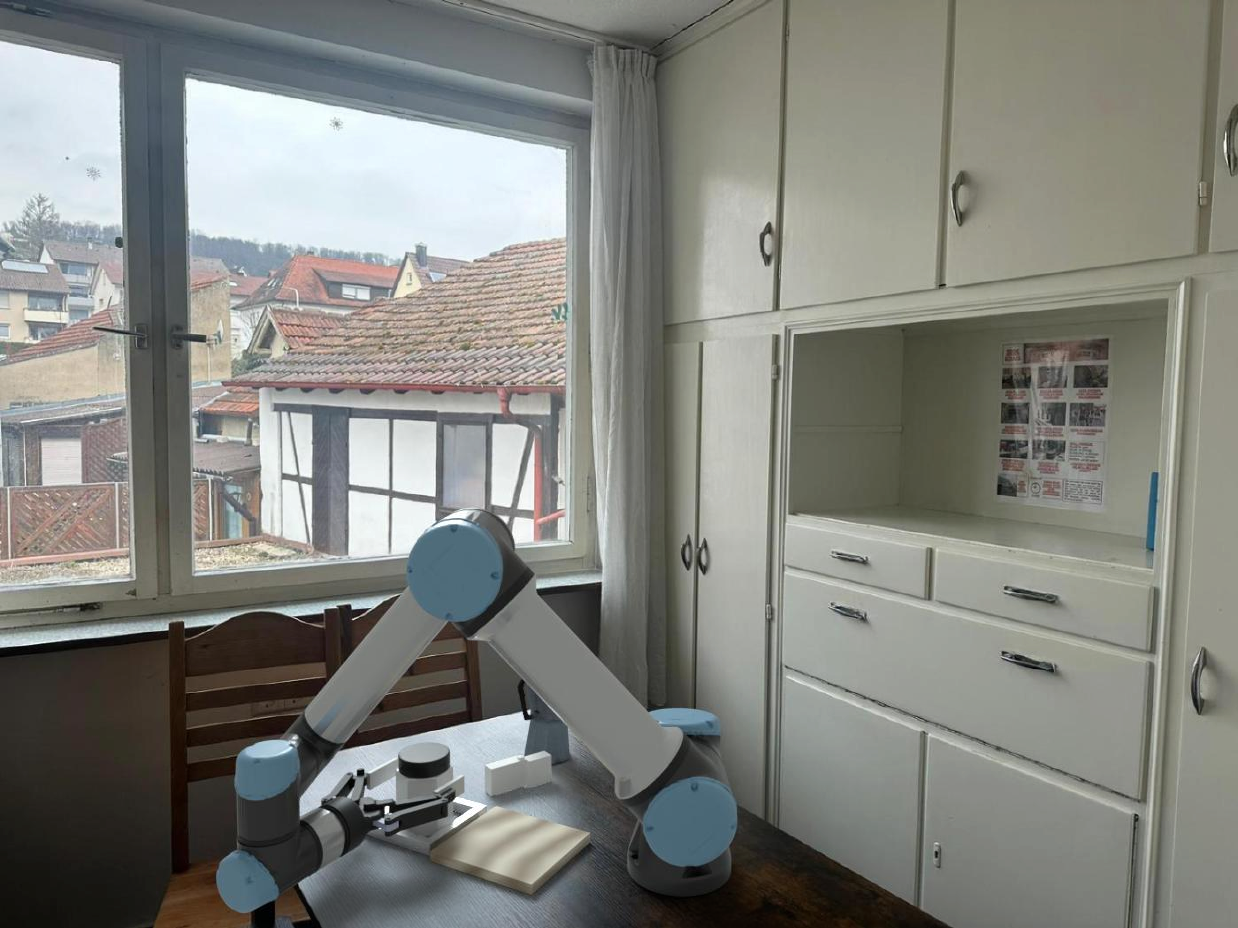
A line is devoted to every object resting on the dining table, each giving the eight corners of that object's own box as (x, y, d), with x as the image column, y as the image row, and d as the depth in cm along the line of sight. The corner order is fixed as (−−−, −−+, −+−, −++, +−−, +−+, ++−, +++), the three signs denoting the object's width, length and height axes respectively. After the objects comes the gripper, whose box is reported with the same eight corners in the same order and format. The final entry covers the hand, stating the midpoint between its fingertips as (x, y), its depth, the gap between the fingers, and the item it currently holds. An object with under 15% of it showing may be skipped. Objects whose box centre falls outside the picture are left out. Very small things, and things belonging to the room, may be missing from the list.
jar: (393, 839, 132) (392, 764, 131) (399, 814, 140) (398, 743, 139) (452, 835, 133) (451, 761, 132) (454, 810, 141) (454, 740, 140)
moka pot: (590, 748, 167) (590, 648, 165) (542, 778, 154) (542, 669, 152) (551, 738, 172) (550, 641, 170) (501, 766, 159) (500, 661, 157)
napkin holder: (473, 804, 145) (473, 771, 144) (485, 774, 156) (485, 744, 156) (561, 805, 144) (561, 772, 144) (567, 775, 156) (567, 745, 155)
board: (590, 842, 131) (590, 832, 131) (531, 894, 117) (531, 884, 117) (495, 814, 140) (495, 805, 140) (430, 860, 126) (430, 851, 126)
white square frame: (487, 815, 140) (486, 805, 139) (429, 855, 127) (429, 844, 127) (421, 796, 146) (421, 786, 146) (360, 833, 134) (360, 822, 134)
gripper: (266, 837, 125) (371, 780, 144) (396, 882, 113) (491, 814, 132) (265, 787, 124) (370, 737, 143) (395, 828, 113) (491, 767, 131)
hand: (429, 774), depth 138 cm, fingers open, 13 cm apart
